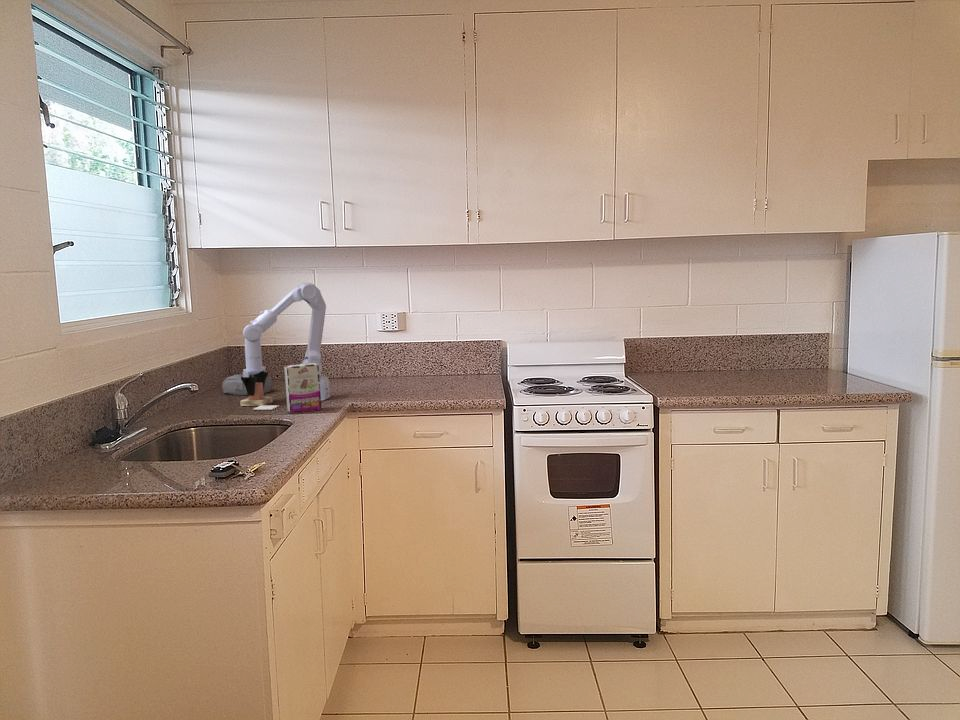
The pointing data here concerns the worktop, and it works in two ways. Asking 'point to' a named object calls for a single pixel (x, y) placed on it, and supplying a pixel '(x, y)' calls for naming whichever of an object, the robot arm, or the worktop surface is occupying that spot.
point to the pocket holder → (256, 402)
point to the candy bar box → (302, 387)
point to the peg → (258, 392)
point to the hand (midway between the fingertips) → (255, 393)
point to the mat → (266, 407)
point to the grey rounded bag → (241, 385)
